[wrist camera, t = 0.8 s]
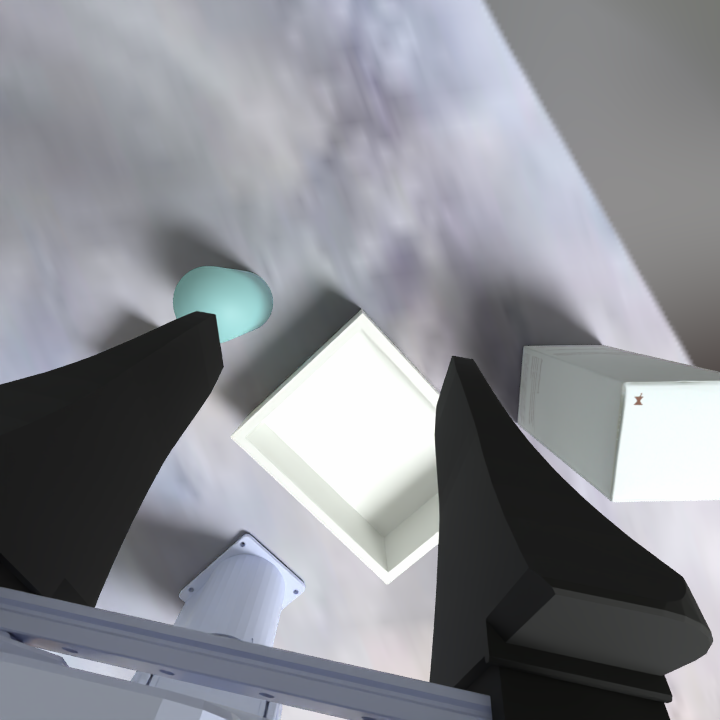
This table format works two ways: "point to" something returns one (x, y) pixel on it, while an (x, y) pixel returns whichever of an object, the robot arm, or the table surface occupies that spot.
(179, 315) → the teal cylinder
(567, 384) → the supplement box
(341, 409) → the tote
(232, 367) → the table surface
